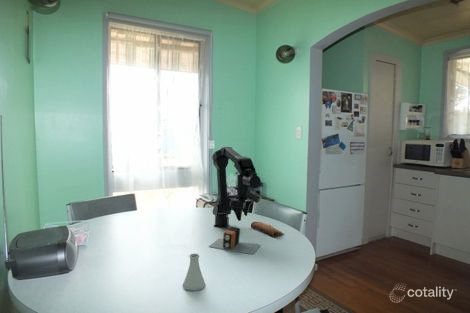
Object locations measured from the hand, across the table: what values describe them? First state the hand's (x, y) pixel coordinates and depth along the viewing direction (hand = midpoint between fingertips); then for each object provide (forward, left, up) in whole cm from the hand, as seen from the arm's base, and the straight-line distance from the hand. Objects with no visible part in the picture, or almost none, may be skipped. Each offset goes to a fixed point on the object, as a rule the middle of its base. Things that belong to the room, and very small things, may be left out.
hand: (242, 218), depth 135 cm
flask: (0, -46, -10) cm, 47 cm away
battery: (-2, -5, -6) cm, 8 cm away
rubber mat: (0, -10, -10) cm, 14 cm away
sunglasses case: (+8, +16, -11) cm, 21 cm away
